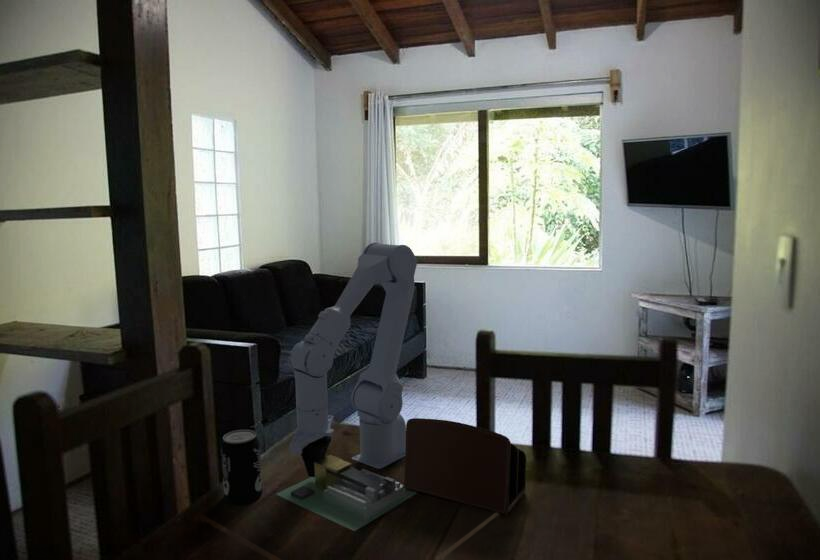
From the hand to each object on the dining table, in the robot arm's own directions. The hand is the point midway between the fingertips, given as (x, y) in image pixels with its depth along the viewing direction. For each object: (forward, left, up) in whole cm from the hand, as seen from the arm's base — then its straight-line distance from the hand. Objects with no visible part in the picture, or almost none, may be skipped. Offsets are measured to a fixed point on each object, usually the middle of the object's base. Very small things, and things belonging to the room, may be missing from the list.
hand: (314, 475), depth 117 cm
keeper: (0, +5, -1) cm, 5 cm away
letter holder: (-14, +24, -2) cm, 28 cm away
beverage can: (+12, -6, -2) cm, 13 cm away
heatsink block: (0, +13, -1) cm, 13 cm away
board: (0, +8, -2) cm, 8 cm away
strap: (0, +11, +2) cm, 11 cm away
